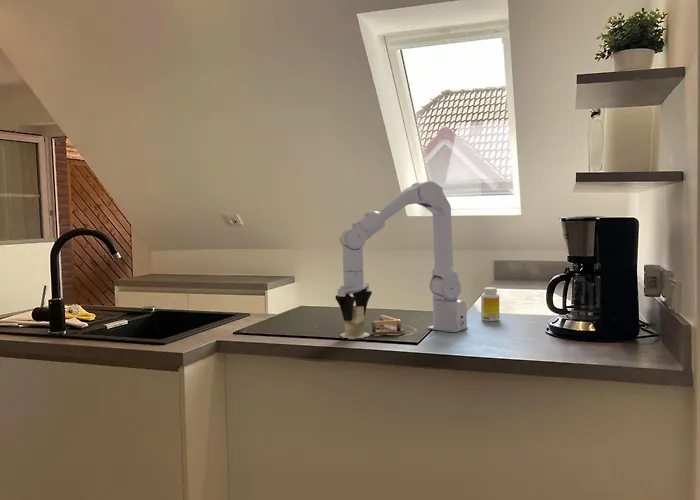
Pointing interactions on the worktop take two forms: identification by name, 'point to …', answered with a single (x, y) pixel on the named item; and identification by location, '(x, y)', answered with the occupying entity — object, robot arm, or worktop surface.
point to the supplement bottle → (490, 304)
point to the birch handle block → (355, 322)
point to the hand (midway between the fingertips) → (354, 318)
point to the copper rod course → (386, 326)
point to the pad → (354, 337)
